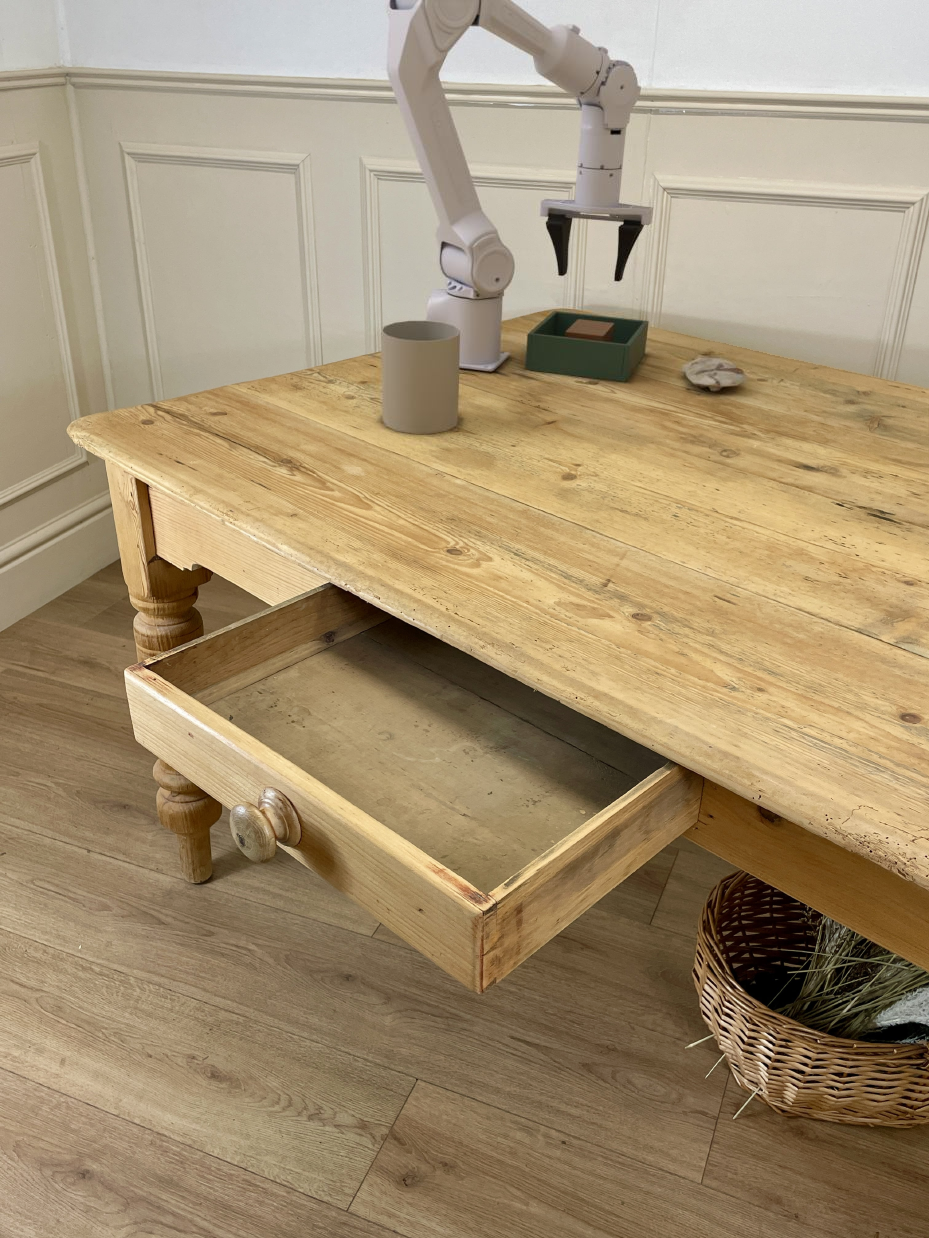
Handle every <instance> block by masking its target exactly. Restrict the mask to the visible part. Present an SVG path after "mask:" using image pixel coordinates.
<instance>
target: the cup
mask: <svg viewBox="0 0 929 1238" xmlns="http://www.w3.org/2000/svg"><path fill="white" fill-rule="evenodd" d="M380 338H381V339H380V341H381V342H380V345H381V347H380V348H381V349H380V350H381V402H382V403H381V405H382V406H381V407H382V411H381V413H382V422H383V424H384V425H385V426H386V427H387V428H388V429H392V430H394V431H397V432H400V433H406V434H413V435H414V434H415V435H422V434H423V435H425V434H426V435H427V434H428V435H429V434H436V433H442V432H446V431H449V430H451V429H453V428H455V427H456V426H457V424H458V422H459V397H460V392H459V391H460V368H459V358H460V330H459V329H458V328H456V327H455V326H453V325H449V324H446V323H442V322H434V321H426V320H405V321H404V320H403V321H396V322H392V323H389V324H387V325H384V326H383V327H382V329H381V330H380Z"/></svg>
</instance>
